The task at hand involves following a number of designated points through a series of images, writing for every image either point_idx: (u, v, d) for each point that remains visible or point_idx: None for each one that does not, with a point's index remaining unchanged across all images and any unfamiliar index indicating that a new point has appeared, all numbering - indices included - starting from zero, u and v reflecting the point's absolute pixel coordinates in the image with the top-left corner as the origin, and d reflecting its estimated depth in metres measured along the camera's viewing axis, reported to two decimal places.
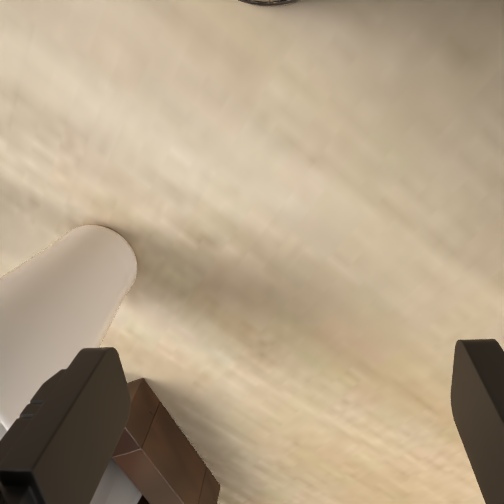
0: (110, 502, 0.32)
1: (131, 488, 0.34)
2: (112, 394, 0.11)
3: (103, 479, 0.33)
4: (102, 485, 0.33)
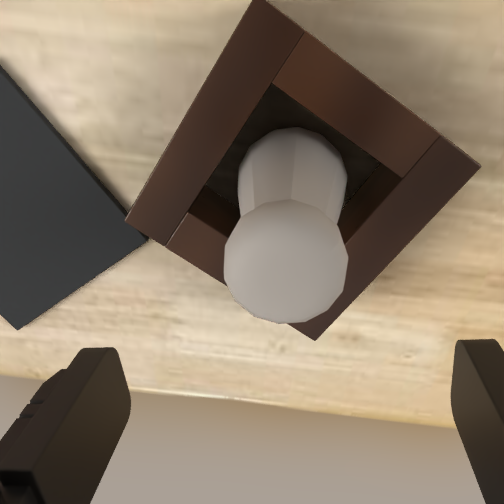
0: (302, 155, 0.20)
1: (325, 150, 0.22)
2: (112, 394, 0.11)
3: (278, 144, 0.22)
4: (280, 148, 0.21)
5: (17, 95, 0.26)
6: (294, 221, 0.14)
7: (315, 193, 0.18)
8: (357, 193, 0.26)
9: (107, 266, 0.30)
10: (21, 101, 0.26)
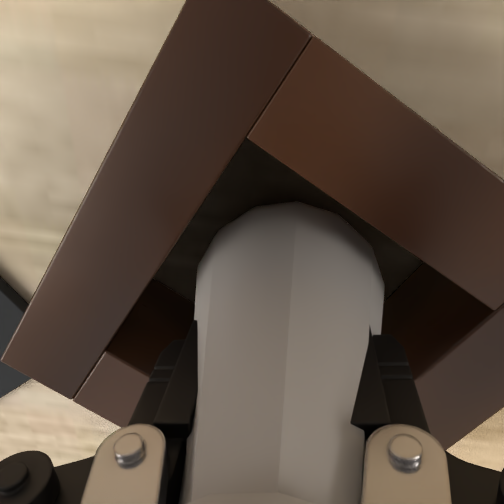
0: (307, 279, 0.10)
1: (348, 254, 0.12)
2: None
3: (261, 246, 0.12)
4: (264, 256, 0.11)
5: None
6: None
7: (337, 395, 0.08)
8: (395, 297, 0.16)
9: (12, 387, 0.20)
10: None
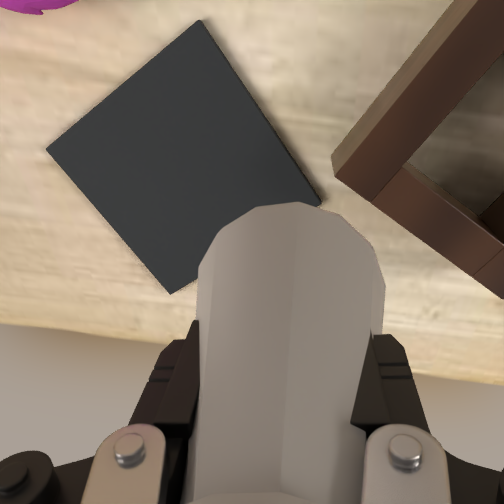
0: (309, 280, 0.10)
1: (349, 255, 0.12)
2: None
3: (263, 246, 0.12)
4: (266, 257, 0.11)
5: (218, 55, 0.26)
6: None
7: (338, 395, 0.08)
8: None
9: None
10: (221, 61, 0.26)
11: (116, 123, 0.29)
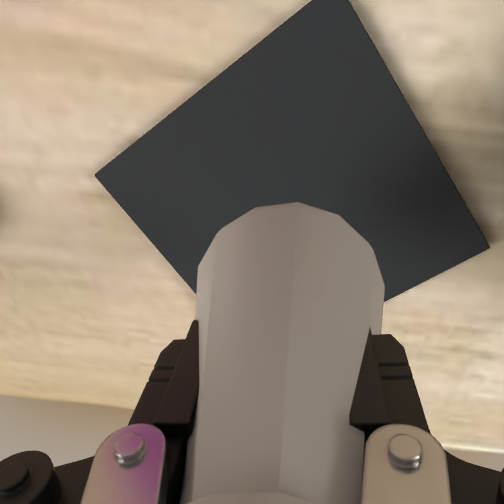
0: (308, 280, 0.10)
1: (349, 255, 0.12)
2: None
3: (262, 247, 0.12)
4: (265, 257, 0.11)
5: (362, 34, 0.17)
6: None
7: (337, 395, 0.08)
8: None
9: (417, 282, 0.22)
10: (365, 44, 0.18)
11: (199, 138, 0.20)
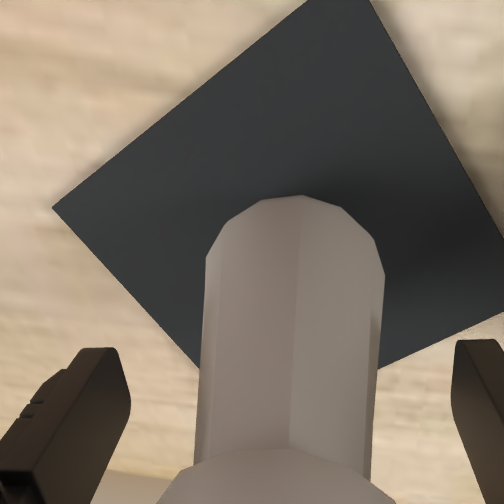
0: (312, 266, 0.11)
1: (351, 245, 0.13)
2: (112, 393, 0.11)
3: (269, 236, 0.12)
4: (272, 245, 0.12)
5: (381, 36, 0.14)
6: None
7: (341, 370, 0.09)
8: None
9: (445, 336, 0.18)
10: (385, 48, 0.14)
11: (177, 164, 0.16)
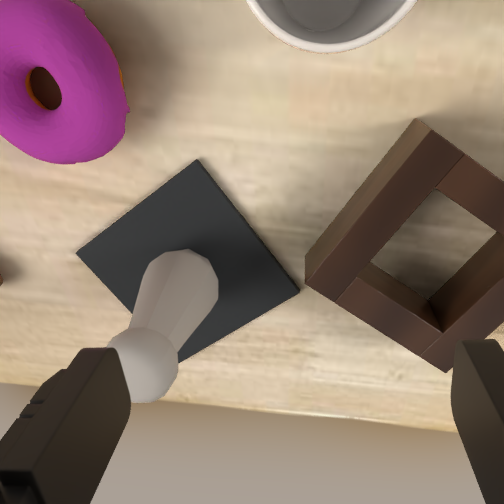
0: (173, 280, 0.31)
1: (195, 271, 0.32)
2: (112, 393, 0.11)
3: (161, 269, 0.32)
4: (161, 272, 0.31)
5: (212, 185, 0.33)
6: (135, 347, 0.24)
7: (171, 313, 0.28)
8: (475, 256, 0.34)
9: (263, 312, 0.37)
10: (214, 189, 0.33)
11: (132, 234, 0.36)
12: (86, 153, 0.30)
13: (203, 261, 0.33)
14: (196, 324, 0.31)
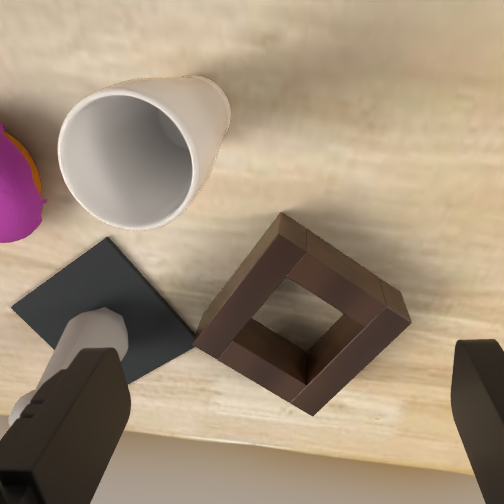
0: (81, 342, 0.37)
1: (103, 332, 0.39)
2: (112, 393, 0.11)
3: (74, 330, 0.38)
4: (73, 334, 0.38)
5: (120, 258, 0.40)
6: None
7: None
8: (340, 319, 0.40)
9: (171, 358, 0.44)
10: (122, 261, 0.40)
11: (57, 294, 0.42)
12: (9, 238, 0.37)
13: (113, 321, 0.40)
14: None
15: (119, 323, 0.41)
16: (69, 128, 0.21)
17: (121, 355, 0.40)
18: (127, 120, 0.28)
